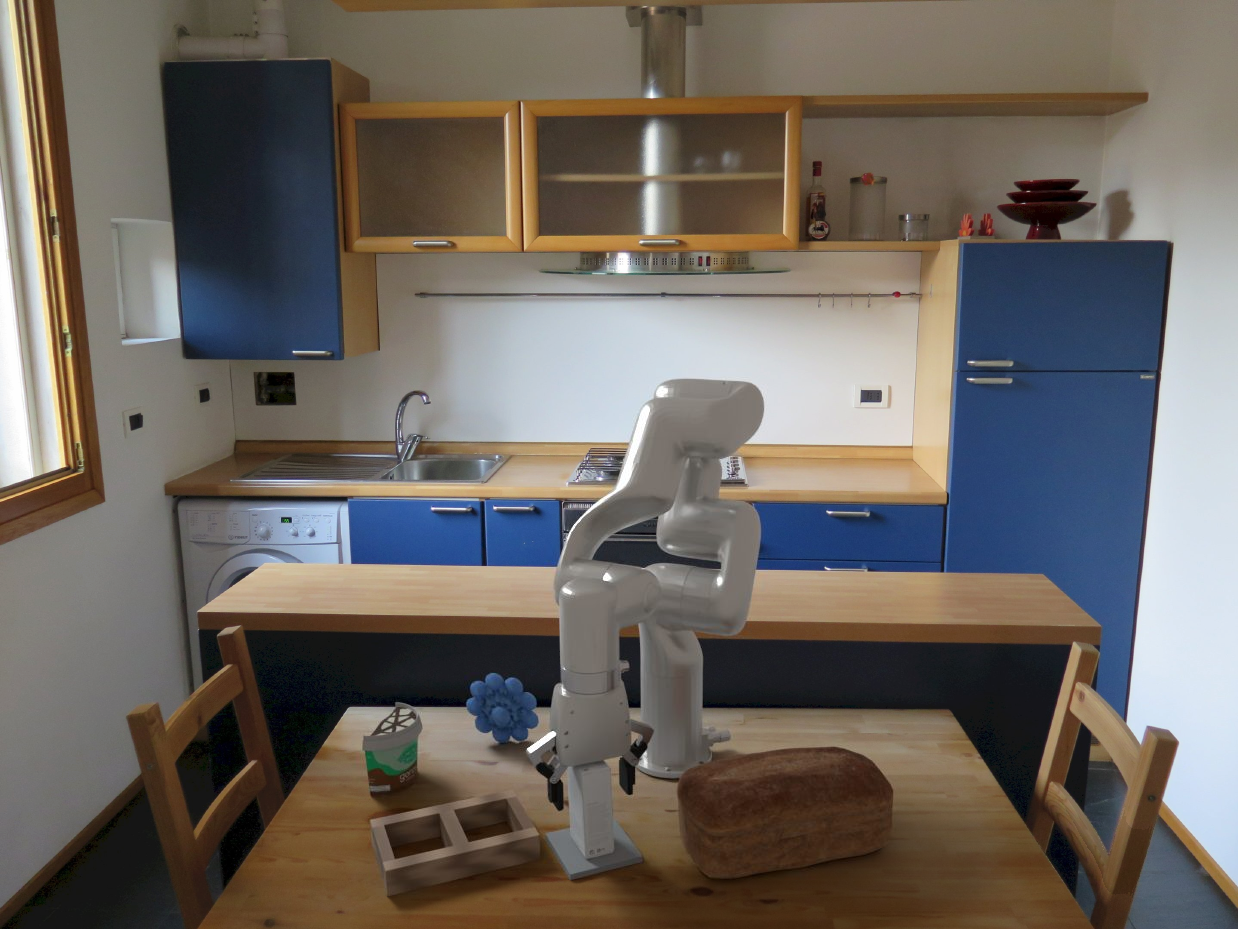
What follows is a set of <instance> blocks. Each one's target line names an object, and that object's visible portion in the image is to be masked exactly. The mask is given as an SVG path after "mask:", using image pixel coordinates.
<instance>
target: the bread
mask: <svg viewBox="0 0 1238 929" xmlns="http://www.w3.org/2000/svg"><path fill="white" fill-rule="evenodd" d="M891 784H892V783H890V781H889V780H888V778H887V777H886V776H885V775H884V773H883V772H882V770H881V769H880V768H879V767H878V766H877V765H876V763H874V761H873V760H871V759H870V758H869V757H867V756H865V755H864V754H861V753H859V752H856V751H852V750H849V749H847V748H843V747H839V746H819V747H818V746H816V747H815V746H813V747H792V748H791V747H790V748H782V749H773V750H768V751H762V752H752V753H746V754H742V755H736V756H730V757H724V758H721V759H716V760H712V761H711V762H707V763H704V764H701V765H698V766H695V767H693V768H690V769H688V770H687V771H686V772H684V773H683V774H682V775H681V777H680V778H678V783H677V787H676V795H677V802H678V803H677V806H678V807H677V808H678V809H677V810H678V827H679V838H680V840H681V843H682V845H683V847H684V849H685V851H686V854H687V855H688V856H689V858H690V859H691V860H692V862H693V863H694V865H696V867H697V868H698V870H699V871H701V873H703V874H704V875H706V876H707V877H708V878H709V879H717V880H718V879H720V880H721V879H722V880H723V879H725V880H726V879H738V878H744V877H748V876H749V877H750V876H753V875H756V874H764V873H769V872H776V871H781V870H782V871H784V870H792V869H800V868H805V867H808V866H813V865H817V864H820V863H824V862H829V861H833V860H840V859H844V858H851V857H859V856H865V855H868V854H871V853H873V852H875V851H877V850H879V849H881V848H883V847H885V846H886V845H887V844H889V839H890V836H891V832H892V828H893V827H892V826H893V805H894V803H893V802H894V788H893V786H892V785H891Z"/></svg>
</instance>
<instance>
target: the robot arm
mask: <svg viewBox="0 0 1238 929" xmlns="http://www.w3.org/2000/svg"><path fill="white" fill-rule="evenodd" d="M764 413H765V401H764V396H763V394H762V392H761V390H760V388H759V387H758V386H757V385H755V384H754V383H752V382H749V381H744V380H743V381H741V380H726V379H725V380H724V379H723V380H722V379H721V380H720V379H707V378H706V379H705V378H673V379H669V380H666V381H663V382H661V383H660V384H658V385H657V387H656V388H655V390H654V394H653V398H652V399H649V400H648V401H646V402H645V403H644V404H643V405H642V406H641V408H640V409H639V412H638V414H637V416H636V417H637V418H636V420H635V422H634V426H633V430H632V433H631V435H630V440H629V441H628V445H627V448H626V451H625V455H624V458H623V461H622V464H621V468H620V471H619V474H618V477H617V481H616V483H615V485H614V487H613V489H612V490H611V491H609V492H608V493H607V494H605V495H604V496H602V497H601V498H600V499H598V500H597V501H596V502H595V503H594V504H592V506H590V507H589V508H588V509H587V510H586V511H585V512H584V513H583V514H582V515H581V516H579V517H580V518H579V519H578V520H577V521H576V522H575V523H574V524H573V526H572V527H571V529H570V530H569V532H568V535H567V536H566V538H565V541H564V544H563V547H562V550H561V552H560V553H561V554H560V556H559V559H558V562H557V565H556V566H557V567H556V570H555V575H554V578H553V587H552V588H553V591H552V592H553V598H554V600H555V603H556V605H557V607H558V614H559V616H558V617H559V651H560V652H559V656H560V658H559V660H560V662H559V664H560V665H559V666H560V682H558V683H556V684H555V685H554V688H553V692H552V697H551V705H550V713H549V715H550V716H549V726H548V727H549V730H548V733H547V734H546V735H545V736H544V737H542V738H541V739H540V740H538V741H537V742H535V743H534V744H532V745H531V746H530V747H528V748H526V750H525V754H526V756H527V757H528V759H529V760H530V762H531V763H532V765H533V766H534V769H536V771H537V772H538V773H539V774H540V775H542V776H543V777H544V778H546V779H547V780H546V782H547V783H546V784H547V788H546V789H547V799H548V801H549V803H550V804H552V805H553V806H554V807H555V809H556V810H557V811H558V812H561V811H563V810H564V808H565V806H564V805H565V802H564V800H565V798H564V794H565V793H564V782H563V780H562V779H561V778H562V777H563V775H564V774H565V772H567V768H568V767H572V766H578V765H583V764H588V763H592V762H597V761H602V760H604V761H605V760H610V759H615V758H619V760H618V784H619V787H620V788H621V789H622V790H623V792H624V793H625V794H626V795H628V796H632V795H633V794H634V785H636V769H638V770H639V771H641V772H643V773H644V774H646V775H649V776H653V777H657V778H660V779H661V778H663V779H680V777H681V775H682V774H683V773H684V772H686V771H687V770H688V769H690V768H693V767H695V766H698V765H701V764H704V763H707V762H711V761H713V752H712V749H711V748H710V747H713V746H714V744H717V743H720V744H721V743H726V742H729V741H730V740H731V737H732V736H731V731H730V730H729V729H728V728H722V729H718V730H717V729H716V726H715V725H713V724H711V725H706V726H704V727H703V690H704V689H703V682H704V681H703V679H704V677H703V676H704V675H703V674H704V673H703V672H704V671H703V670H704V669H703V668H704V667H703V666H704V656H703V651H702V648H701V644H700V642H699V639H698V637H697V636H696V634H695V632H696V633H701V634H702V633H704V634H709V635H715V636H724V637H729V636H730V637H733V636H736V635H738V634H740V632H741V631H742V630H743V629H744V627H745V624H747V623H746V622H747V619H748V617H749V612H750V606H751V601H752V595H753V589H754V583H755V577H756V572H757V571H756V570H757V565H758V559H759V552H760V548H761V539H762V538H761V537H762V527H761V526H762V525H761V519H760V515H759V513H758V511H757V509H756V508H755V507H754V506H753V505H752V504H750V503H748V502H746V501H743V500H737V499H731V498H729V499H727V498H721V497H719V495H720V487H721V483H722V477H723V467H722V463H721V460H724V459H727V458H729V457H730V456H732V455H733V454H735V453H736V452H737V451H739V449H740V448H741V447H742V446H744V445H745V444H746V443H747V442H748V441H750V440H751V439H752V438H753V437H754V436H755V435H756V433H757V432H758V430H759V428H760V427H761V425H762V422H763V420H764V419H763V418H764V415H765V414H764ZM657 517H658V518H657ZM655 518H657V526H656V543H657V546H658V547H659V548H660V549H661V550H662V551H663V552H665V553H668V554H670V555H673V556H677V557H682V558H689V559H695V560H697V559H698V560H704V561H713V562H719V563H720V569H715V568H706V567H698V566H695V565H688V564H687V565H686V564H680V563H671V562H670V563H669V562H668V563H667V562H660V563H659V562H658V563H653V564H650V565H648V566H646V567H644V568H643V567H641V566H635V565H628V564H622V563H621V564H620V563H617V562H610V561H601V560H595V559H593V558H594V555H595V553H597V550H598V549H599V548H600V546H601V545H602V544H604V541H606V540H607V539H608V538H610V537H611V536H613V535H614V534H616V533H618V532H619V531H621V530H623V529H626V528H629V527H631V526H635V525H637V524H640V523H643V522H645V521H649V520H652V519H655ZM635 625H638V630H639V631H638V632H639V643H640V645H639V646H640V721H638V720H635V719H632V718H631V716H630V706H629V701H628V694H627V692H626V687H625V686H626V685H625V683H624V681H623V680H622V673H623V674H624V673H625V672H629V671H630V663H629V661H628V660H622V659H621V660H620V631H621V630H624V629H626V628H630V627H632V626H635ZM632 733H636V734H638V737H637V738H636V739H635V740H634V741H633V743H632ZM549 750H550V752H551V754H552V756H551V758H550V759H549V760H548V762H547V763H546V762H545V761H544V760H543V758H542V756H543V755H544V754H545V753H548V751H549Z"/></svg>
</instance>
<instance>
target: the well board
mask: <svg viewBox="0 0 1238 929" xmlns="http://www.w3.org/2000/svg"><path fill="white" fill-rule="evenodd" d="M506 822H507V824H508V826H509V828H510V830H511V831H512V832H508V833H505V834H504V833H503V834H499V835H494V836H490V837H485V838H482V839H478V840H473V841H469V840H468V838H467V836H466V834H465V832H466V831H471V830H474V829H478V828H485V827H488V826H493V825H497V824H502V823H506ZM369 824H370V825H369V826H370V839H371V846H372V849H373V853H374V856H375V861H376V864H377V867H378V870H379V874H380V877H381V880H382V884H383V887H384V890H385V894H386V897H391V896H395V895H398V894H404V893H407V892H410V891H416V890H419V889H423V888H428V887H431V886H435V885H436V886H437V885H440V884H443V883H448V882H452V881H456V880H459V879H465V878H469V877H472V876H477V875H481V874H485V873H488V872H489V873H490V872H494V871H497V870H501V869H505V868H509V867H510V868H511V867H513V866H517V865H522V864H526V863H531V862H535V861H538V860H539V861H540V860H541V842H540V841H541V840H540V839H541V837H540V833H539V832H538V830H537V828H536V826H535V825H534V823H533V821H532V820H531V818H530V816H529V814H528V812H527V811H526V810H525V808H524V807H523V805H522V803H521V801H520V799H519V798H518V796H517V795H516V793H515V791H514V790H513V789H508V790H504V791H499V792H498V791H497V792H494V793H489V794H484V795H480V796H475V797H470V798H466V799H462V800H461V799H460V800H457V801H452V802H448V803H443V804H438V805H433V806H428V807H423V808H419V809H415V810H410V811H406V812H401V813H400V812H399V813H395V814H391V815H387V816H386V815H385V816H383V817H382V816H381V817H377V818H372V819H370V820H369ZM439 837H440V839H441V842H442V844H443V846H444V847H442V848H439V849H434V850H430V851H425V852H422V853H416V854H413V855H409V856H404V857H400V858H395V856H394V852H393V849H392V848H394V847H396V848H397V847H398V846H399V847H400V846H405V845H407V844H409V845H410V844H412V843H417V842H421V841H426V840H431V839H434V838H435V839H436V838H439Z"/></svg>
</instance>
